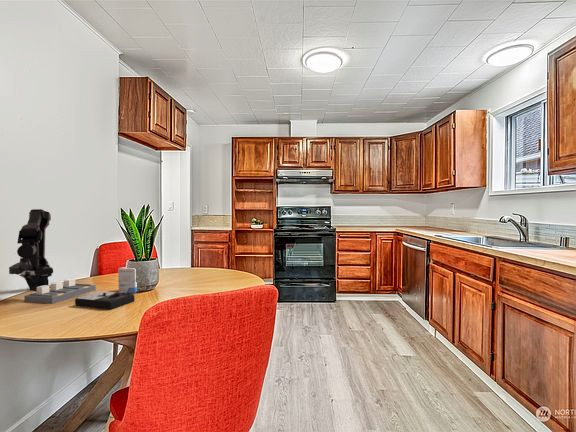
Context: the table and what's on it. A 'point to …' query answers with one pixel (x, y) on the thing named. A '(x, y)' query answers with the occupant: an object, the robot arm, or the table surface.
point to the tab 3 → (69, 282)
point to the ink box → (127, 280)
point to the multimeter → (104, 300)
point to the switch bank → (60, 294)
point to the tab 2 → (56, 285)
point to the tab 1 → (43, 289)
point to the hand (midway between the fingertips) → (31, 289)
